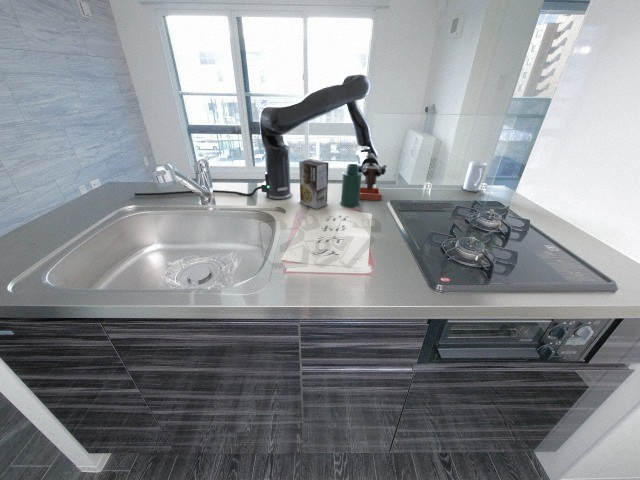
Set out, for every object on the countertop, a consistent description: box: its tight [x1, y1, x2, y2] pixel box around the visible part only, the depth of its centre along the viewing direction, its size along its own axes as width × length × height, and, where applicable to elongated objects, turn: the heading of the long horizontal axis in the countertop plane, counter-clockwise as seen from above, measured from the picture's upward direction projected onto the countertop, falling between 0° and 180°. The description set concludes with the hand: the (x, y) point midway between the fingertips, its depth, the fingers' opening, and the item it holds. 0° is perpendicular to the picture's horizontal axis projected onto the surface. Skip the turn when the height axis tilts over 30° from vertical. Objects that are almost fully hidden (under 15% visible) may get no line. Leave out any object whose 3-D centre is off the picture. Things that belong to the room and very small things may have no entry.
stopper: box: [364, 166, 378, 190], centre depth 108 cm, size 5×5×9 cm
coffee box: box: [298, 158, 329, 210], centre depth 99 cm, size 9×6×16 cm
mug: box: [462, 160, 488, 192], centre depth 119 cm, size 10×7×12 cm, turn 173°
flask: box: [340, 163, 363, 208], centre depth 100 cm, size 7×7×15 cm
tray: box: [359, 186, 382, 201], centre depth 111 cm, size 9×8×2 cm
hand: (372, 174), depth 104 cm, fingers closed on stopper, 4 cm apart
